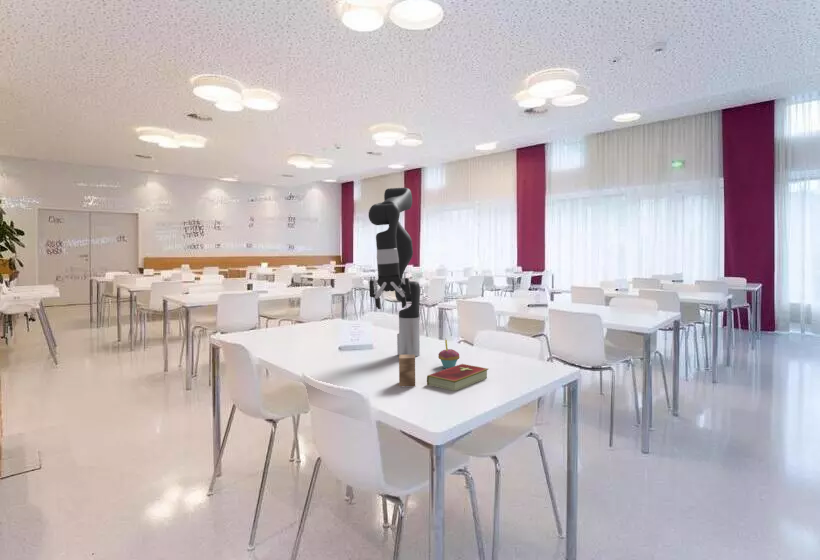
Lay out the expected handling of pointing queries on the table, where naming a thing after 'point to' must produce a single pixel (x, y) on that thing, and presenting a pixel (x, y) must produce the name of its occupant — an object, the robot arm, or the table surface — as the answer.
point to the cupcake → (448, 357)
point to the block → (407, 370)
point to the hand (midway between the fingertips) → (391, 308)
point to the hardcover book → (457, 377)
